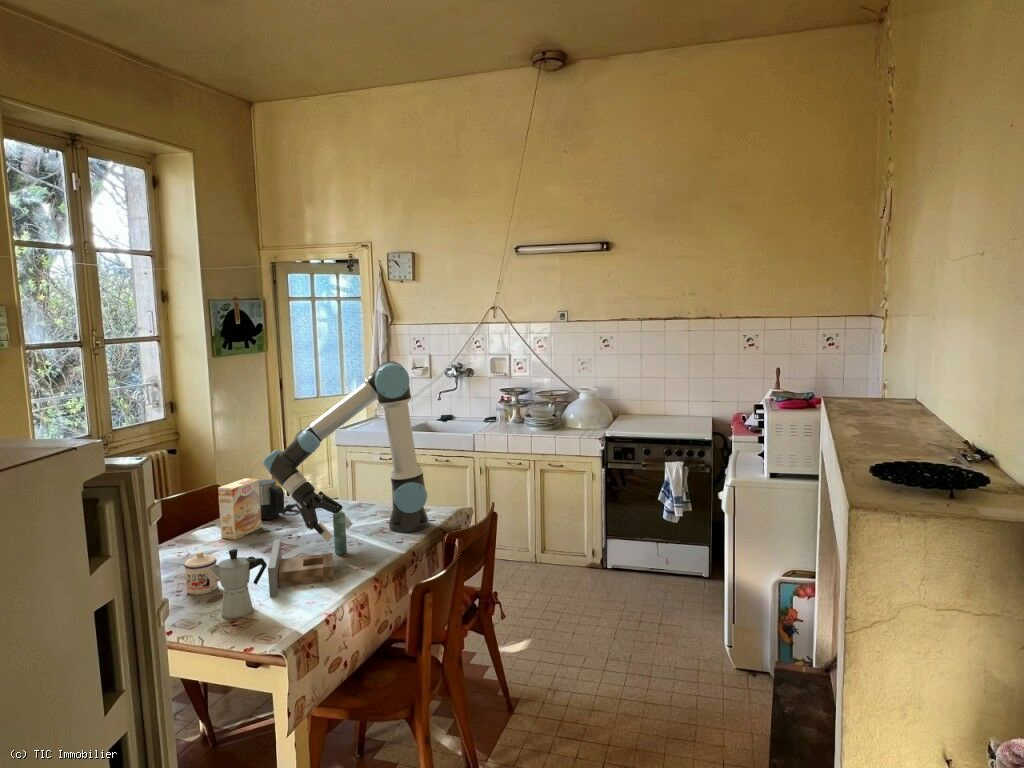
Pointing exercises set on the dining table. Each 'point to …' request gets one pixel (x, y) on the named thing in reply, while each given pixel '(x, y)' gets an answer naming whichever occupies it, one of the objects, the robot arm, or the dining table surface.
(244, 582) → the coffee maker
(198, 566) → the teacup with lid
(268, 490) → the milk frother
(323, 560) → the socket block
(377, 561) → the dining table surface
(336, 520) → the dowel
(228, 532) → the coffeecake box
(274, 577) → the wall
